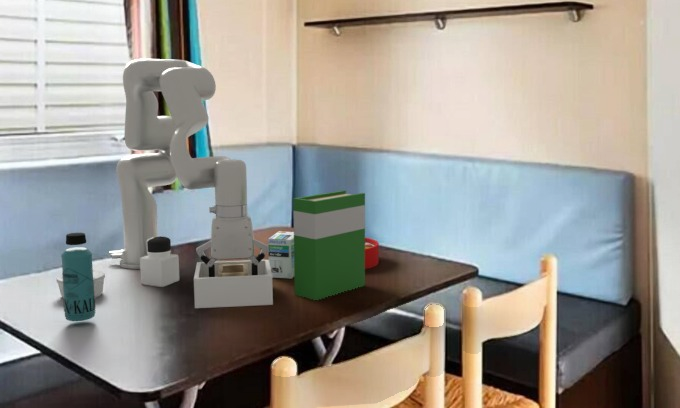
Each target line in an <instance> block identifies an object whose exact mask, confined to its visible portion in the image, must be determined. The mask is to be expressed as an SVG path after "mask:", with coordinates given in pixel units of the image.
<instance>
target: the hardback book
mask: <svg viewBox="0 0 680 408" xmlns="http://www.w3.org/2000/svg"><path fill="white" fill-rule="evenodd" d="M292 203H293V204H292V205H293V207H292V208H293V209H292V210H293V211H292V212H293V232H294V277H293V279H294V296H297V295H298V296H297V297H301V296H302V297H301V298H304V297H306V298H305V299H308V298H309V300H312V299H313V300H312V301H315V300H317V301H319V299H320V300H322V298H323V299H326V298H325V297H327V298H329V297H328V296H330V297H332V295H333V296H336V295H339V294H338V293H340V294H341V292H343V293H345V292H344V291H346V292H348V291H347V290H349V291H353V290H355V288H356V289H358V287H359V288H362V287H365V285H366V269H365V238H366V193H365V192H359V193H354V194H351V193H347V190H343V189H342V190H339V191H332V192H326V193H325V192H324V193H319V194H312V195H307V196H305V195H304V196H302V197H301V196H300V197H294V198H293V202H292ZM352 289H353V290H352ZM335 294H336V295H335Z"/></svg>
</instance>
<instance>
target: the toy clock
mask: <svg viewBox="0 0 680 408" xmlns="http://www.w3.org/2000/svg"><path fill="white" fill-rule="evenodd" d="M379 249H380V247H379V242H378V240H376V239H373V238H370V237H369V238H368V237H365V270H367V269H371V268H375V266H377V265H378V264H379V259H380V258H379Z"/></svg>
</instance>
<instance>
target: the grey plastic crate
mask: <svg viewBox="0 0 680 408" xmlns="http://www.w3.org/2000/svg"><path fill="white" fill-rule="evenodd" d="M251 263H252V261H251V260H250V259H243V260H228V261H227V260H217V261H215V263H214V265H215V277H209V267H208V266H207V265H206V264H205V263H204V262H203V261H199V262H198V261H196V266H195V270H194V271H195V272H194V276H193V294H194V295H193V296H194V309H207V308H208V309H209V308H210V309H212V308H229V307H233V308H235V307H250V306H251V307H252V306H270V305H271V306H273V305H274V299H273V298H274V297H273V296H274V293H273V278H272V272H271V267H270V263H269V259H262V260H261V261H260V262H259V264H258V275H252V265H251ZM227 264H247V267H248V276H227V277H218V268H219V265H227Z"/></svg>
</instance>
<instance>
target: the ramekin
mask: <svg viewBox="0 0 680 408" xmlns="http://www.w3.org/2000/svg"><path fill="white" fill-rule="evenodd" d="M105 277H106V274H105V272H104V271H102V270H98V269H97V270H96V269H93V281H94V288H95V289H94V296H95V297H94V298H95V299H96V298H98V297H100V296H101V294H103V290H104V282H105ZM56 283H57V285H58V289H59V292H60V296H61V297H62V299H64V291H63V287H62V286H63V275H62V273H61V274H59V275H58V276H56Z"/></svg>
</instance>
